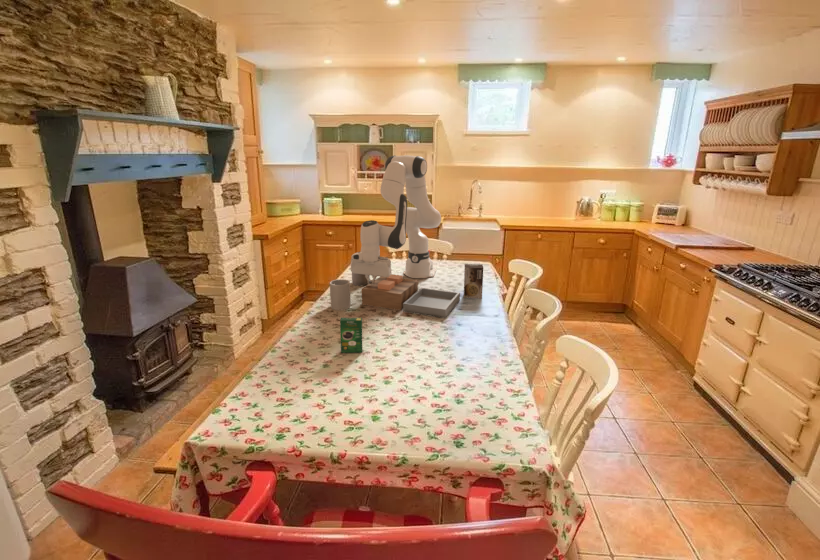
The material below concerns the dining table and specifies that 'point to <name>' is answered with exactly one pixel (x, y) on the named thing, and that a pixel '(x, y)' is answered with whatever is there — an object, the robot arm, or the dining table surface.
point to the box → (431, 302)
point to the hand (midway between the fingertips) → (371, 283)
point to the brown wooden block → (389, 294)
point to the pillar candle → (359, 279)
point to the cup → (340, 294)
